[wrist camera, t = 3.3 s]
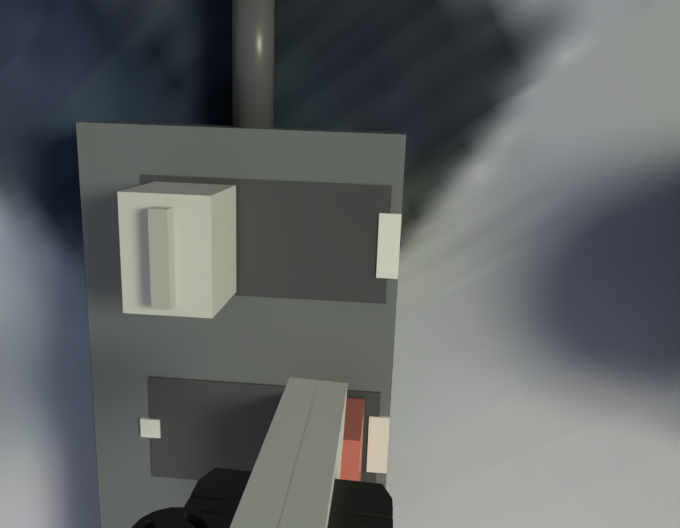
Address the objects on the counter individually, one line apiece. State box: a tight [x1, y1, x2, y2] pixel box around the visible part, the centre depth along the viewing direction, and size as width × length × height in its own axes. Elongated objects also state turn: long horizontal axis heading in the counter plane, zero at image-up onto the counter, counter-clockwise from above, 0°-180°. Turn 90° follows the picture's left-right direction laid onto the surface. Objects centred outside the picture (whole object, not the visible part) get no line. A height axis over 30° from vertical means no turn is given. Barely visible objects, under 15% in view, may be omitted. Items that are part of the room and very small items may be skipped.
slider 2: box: [340, 398, 365, 481], centre depth 23 cm, size 4×3×4 cm
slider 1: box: [117, 182, 236, 318], centre depth 21 cm, size 4×3×4 cm
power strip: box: [76, 0, 406, 528], centre depth 26 cm, size 30×12×4 cm, turn 178°
